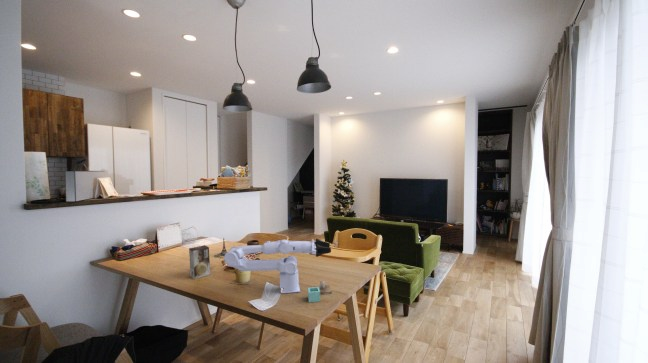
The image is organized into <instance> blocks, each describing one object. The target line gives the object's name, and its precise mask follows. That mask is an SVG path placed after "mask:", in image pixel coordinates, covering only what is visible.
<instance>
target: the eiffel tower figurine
mask: <svg viewBox="0 0 648 363" xmlns="http://www.w3.org/2000/svg"><path fill="white" fill-rule="evenodd" d="M227 252H228V251H227V249H226V244H225V237H223V245H222V250H221V252H220V253H217V254H215V255H214V256H213V258H219V259H222V257H224V255H225V254H226V253H227Z"/></svg>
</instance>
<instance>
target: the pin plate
mask: <svg viewBox="0 0 648 363" xmlns="http://www.w3.org/2000/svg"><path fill="white" fill-rule="evenodd" d="M313 287H319V290H320V295H328V294H329V295H331V294H332V293H333V290H332V289H331V285H330V284H325V280H321V281H320V284H319V285H313Z"/></svg>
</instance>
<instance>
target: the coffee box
mask: <svg viewBox="0 0 648 363" xmlns="http://www.w3.org/2000/svg"><path fill="white" fill-rule="evenodd" d="M188 250H189V251H188V253H189V270H190V272H189V274H190V277H191V278H192V279H193V280H196V279H199V278H203V277H206V276H209V275H211V262H210V247H209V246H208V245H205V244H204V245H199V246H196V247H191V248H190V247H189V248H188Z"/></svg>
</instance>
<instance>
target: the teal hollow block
mask: <svg viewBox="0 0 648 363" xmlns="http://www.w3.org/2000/svg"><path fill="white" fill-rule="evenodd" d="M307 299H308V303H315V302H316V303H317V302H321V294H320V290H319V287H314V286H313V287H308V288H307Z"/></svg>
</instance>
